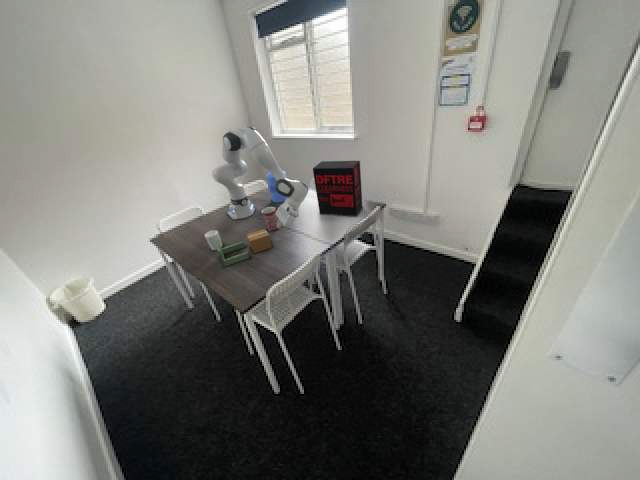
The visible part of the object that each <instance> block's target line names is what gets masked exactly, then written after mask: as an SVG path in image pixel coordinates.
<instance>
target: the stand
mask: <svg viewBox="0 0 640 480" xmlns="http://www.w3.org/2000/svg"><path fill="white" fill-rule="evenodd" d="M216 245H217V250H216V251H217V253H218V256H219V258H220V261H221V263H222V265H223V267H224V268H225V267H227V266H230V265H233V264H236V263H240V262H242V261H245V260H247V259H250V255H249V252H248V251H246V252H243V253H239V254H237V255H234V256H230V257H227V258H225V255H226V254H229V253H233V252H235V251H237V250H240V249H243V248H246V245H245V242H244V241H240V242H237V243H234V244H231V245H228V246H225V247H221V246H220V244H219V241H218V239H217V240H216Z"/></svg>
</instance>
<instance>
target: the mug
mask: <svg viewBox="0 0 640 480" xmlns="http://www.w3.org/2000/svg"><path fill="white" fill-rule="evenodd" d="M277 210H278V207H275V206H268V207H264V208H263V209H262V210H261V214H262V217H263V219H264V222H265V225H266V228H267V230H268V231H270V232H274V231H277V230H278V228H277V227H276V225H277V222H278V220H279V218H278V217H277V216H276V214H275V213H276V211H277Z"/></svg>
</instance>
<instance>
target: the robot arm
mask: <svg viewBox="0 0 640 480" xmlns="http://www.w3.org/2000/svg"><path fill="white" fill-rule="evenodd" d="M245 149H246V150H247V151H248V153H249V154H250V156H251V157H252V158H253V160H254V161H255V162H256V163H257V164H258V165H260V166H262V167H263V168H265V169H266V170H268V172H269V173H270V172H271V173H272V175H273V176H274V177H275V179H276V180H277V182H276V184H275V190H276V192H277V193H278V194H280V195H282V196H285V197H286V200H285V202H282V204H280V206H279V207H277V209H278V210H277V211H276V213H275V214H276V216H277V217H278V222H277V225H276V227H277V228H278V229H279V230H280V229H281V228H282V227H285V228H287V229H290V228H292V226H293V225H294V223H295V222H296V219H297V218H298V217H299V216H300V213H299V208H300V207H301V204H302V203H303V202H304V201H305V199H306V197H307V195H308V193H309V187H308V186H307V184H306V183H305V182H303V181H302V180H292V179H290V178H289V177H288V176H286V175H287V174H286V175H285V174H284V172H285V171H284V170H283V169H282V168H281V167H280V165H279V164H278V162H277V159H276V158H275V156H274V154H273V151H272V150H271V148H270V146H269V144H268V143H267V142H266V140H265V139H264V138H263V136H261V134H260V133H259V131H258V130H257V128H256V127H253V126H247V127H240V128H237V129H235V130H231V129H230V130H227V131H225V132H224V135H223V136H222V149H221V150H222V152H221V153H222V154H221V155H222V159H223V160H224V161H225V162H226V163H223V164H222V165H221V164H220V165H218V166H217V167H215V168H213V169H212V172H211V176H212V179H213V180H214V181H215V182H216V183H218V184H221V185H222V186H224V187H225V188H226V190H227V192H228V194H229V197H230V198H229V199H230V205H229V206H228V212H227V215H228V216H229V217H230V218H231V219H232V220H238V219H239V220H241V219H245V218H249V217H251V216H252V215H253V214H254V213H255V210H256V209H255V207H254V204H253V203H252V202H251V200H250V199H249V197H248V194H247V193H246V189H245V187H244V185H243V184H242V183H240V182H237V181H235V179H237V178H239V177H241V176H243V175H245V174H246V173H247V172H248V165H247V162H245V161H244V160H243V159H241V158H242V157H241V154H242V153H241V151H242V150H245ZM283 171H284V172H283ZM278 229H277V230H278Z"/></svg>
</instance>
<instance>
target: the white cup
mask: <svg viewBox="0 0 640 480" xmlns="http://www.w3.org/2000/svg"><path fill="white" fill-rule="evenodd" d="M204 238H205V240H206V242H207V243H208V245H209V247H210V249H211V250H212V251H217V245H216V240H217V239H218V241H219V244H220V246H221V248H223V243H222V239H221V235H220V234H219V231H218V230H217V229H213V230H209V231H207V232H206V233H204Z"/></svg>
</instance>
